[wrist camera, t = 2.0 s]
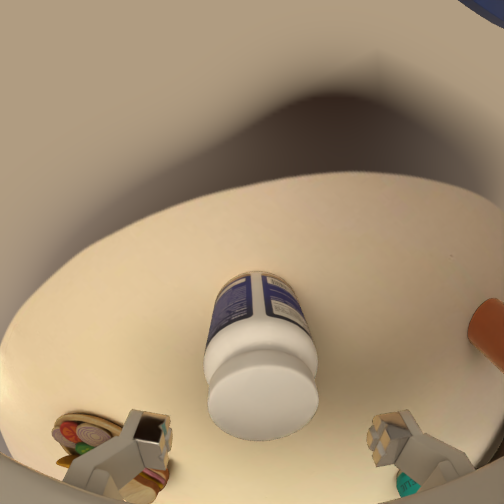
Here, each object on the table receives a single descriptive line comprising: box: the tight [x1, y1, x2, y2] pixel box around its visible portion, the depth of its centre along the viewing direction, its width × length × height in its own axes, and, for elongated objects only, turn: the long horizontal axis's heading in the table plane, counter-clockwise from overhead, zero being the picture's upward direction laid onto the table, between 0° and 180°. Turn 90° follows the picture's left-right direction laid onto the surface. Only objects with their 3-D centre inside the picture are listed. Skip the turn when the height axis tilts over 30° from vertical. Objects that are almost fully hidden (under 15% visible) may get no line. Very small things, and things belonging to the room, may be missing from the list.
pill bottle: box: [203, 272, 319, 441], centre depth 16 cm, size 6×6×10 cm
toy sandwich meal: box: [52, 414, 169, 504], centre depth 23 cm, size 12×14×5 cm
